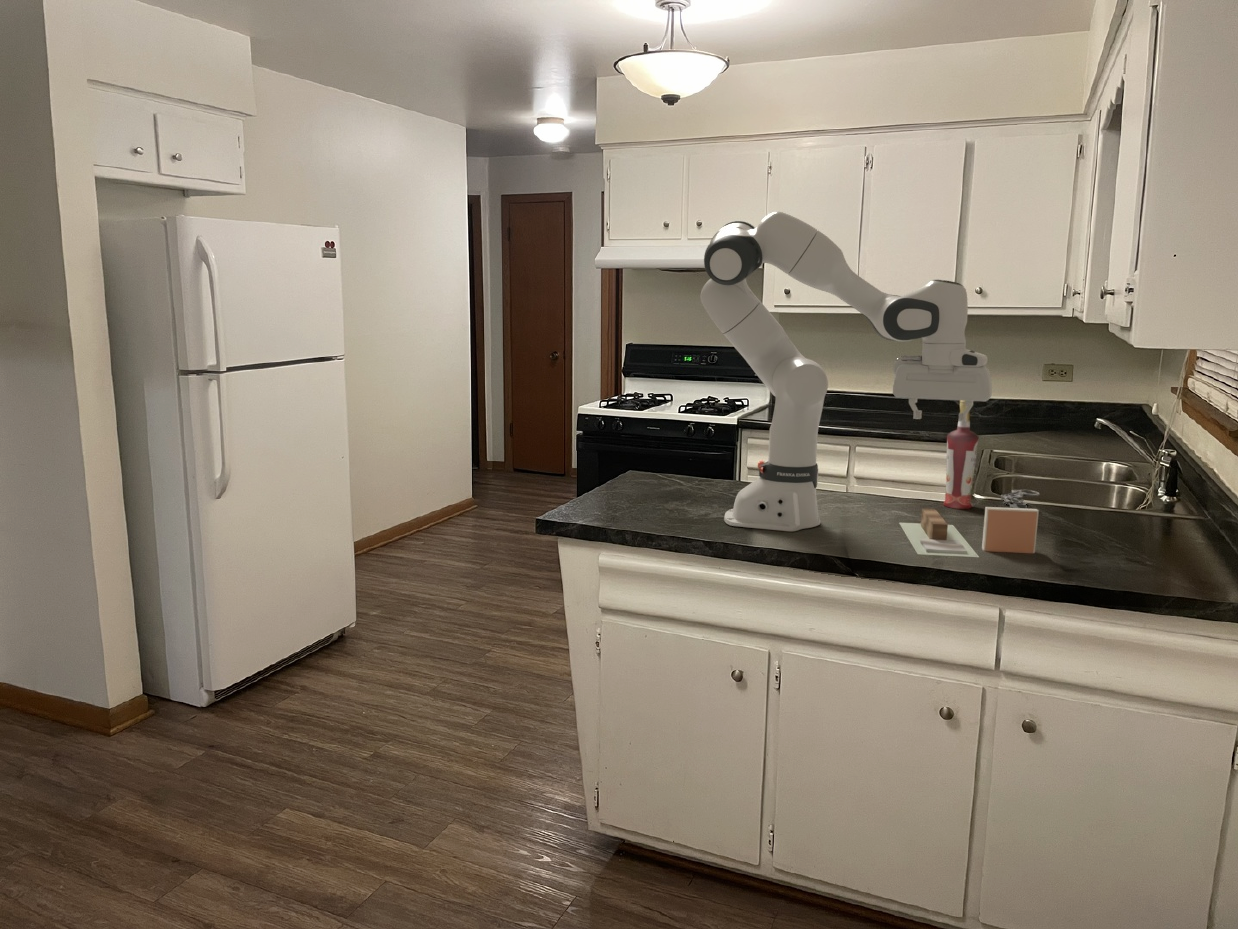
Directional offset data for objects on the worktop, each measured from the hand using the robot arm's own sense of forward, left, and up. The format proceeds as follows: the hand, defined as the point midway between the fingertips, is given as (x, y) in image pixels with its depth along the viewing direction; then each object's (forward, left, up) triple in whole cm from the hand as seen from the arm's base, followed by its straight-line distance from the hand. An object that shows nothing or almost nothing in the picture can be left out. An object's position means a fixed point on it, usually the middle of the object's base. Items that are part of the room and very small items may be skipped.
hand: (939, 419), depth 195 cm
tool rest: (0, -6, -26) cm, 27 cm away
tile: (+13, -13, -26) cm, 32 cm away
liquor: (+11, +27, -26) cm, 39 cm away
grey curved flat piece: (+29, +39, -27) cm, 55 cm away
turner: (0, -6, -25) cm, 26 cm away
